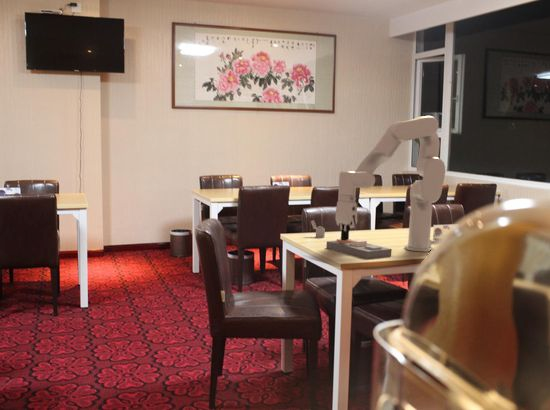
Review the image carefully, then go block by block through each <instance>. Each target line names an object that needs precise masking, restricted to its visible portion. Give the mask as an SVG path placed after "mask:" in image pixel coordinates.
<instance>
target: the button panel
mask: <svg viewBox="0 0 550 410" xmlns="http://www.w3.org/2000/svg"><path fill="white" fill-rule="evenodd" d="M349 240H352V239H349ZM371 245H374V246H377V245H376V244H371V243H368V242H367V246H371ZM378 246H379V245H378ZM379 247H382V249H381V250H369V249H365V246H361V247H357V246H353V245H350V243H341V242H337V240H326V249H329V250H332V251H337V252H341V253H344V254H347V255H351V256H355V257H359V258H362V257H363V259H367V260H369V258H370V259H378V258H387V257H391V256H392V248H389V247H384V246H379Z"/></svg>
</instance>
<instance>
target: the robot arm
mask: <svg viewBox="0 0 550 410" xmlns="http://www.w3.org/2000/svg"><path fill="white" fill-rule="evenodd" d="M438 129H439V121H438V119H436V117H435V116H432V115H425V116H424V115H423V116H422V115H420V116H417V117H415V118H413V119H409V120H402V121H395V122H394V121H393V122H392V123H391V124H390V125H389V126H388V128H387V129H386V131H385V132H384V134H383V135H382V137H380V139H379V140H378V143H377V144H376V145H375V146H374V147H373V149H372V150H371V151H370V152H369V153H368V154H367V155H366V157H365V158H363V160H362V161H361V162H360V164H359V165H358V167H357V168H356V170H355V171H353V170H342V171H340V173H339V178H338V195H337V196H338V197H337V198H338V199H337V202H336V207H335V208H336V209H335V222H336V225H337V226H338V227H339V229H340V239H341V240H348V239H349V238H350V232H351V229H355V225H357V224H358V204H357V202H356V200H357V198H356V193H357V192H356V190H357V188H360V189H370V188H372V187H373V186H374V185H375V183H376V177H375V175H374V173H375V171H376V170H377V169H378V168H379V167H380V166H381V165H383V164H385V163H387V162H388V161H389V160H390V159H392V157H393V155H394V154H395V153H396V151H397V150H398V149H399V147H400V146H401V144H402V142H405V141H413V140H416V139H417V140H419V151H418V158H417V163H416V172H417V174H418V175H419V176H420V177H422V179H419V180H416V181H414V182H413V183H412V184H411V185H410V188H409V189H410V190H409V199H410V211H409V224H408V225H409V226H408V228H409V229H408V242H407V243H408V244H405V245H404V249H405V250H408V251H413V252H424V253H425V252H431V251H430V250H432V249H433V250H434V247H432V245H436V244H437V241H436V240H435V239H433V240H432V239H431V233H432V231H431V229H432V216H433V205H432V204H434V203H436V202H438V200H439V199H440V198H441V195H442V191H443V186H444V182H445V181H444V180H445V175H446V165H445V162H444V161H443V159H441V158H439V154H440V138H439V134H438V132H437V131H438ZM433 250H432V251H433Z"/></svg>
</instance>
